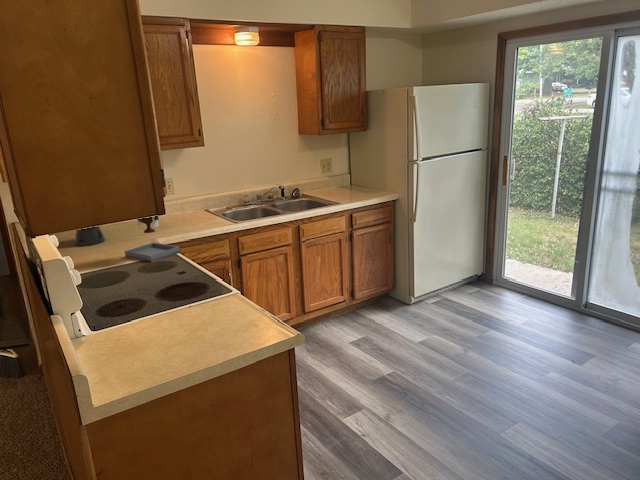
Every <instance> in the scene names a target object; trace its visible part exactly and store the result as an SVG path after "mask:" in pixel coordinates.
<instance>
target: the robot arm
mask: <svg viewBox="0 0 640 480" xmlns="http://www.w3.org/2000/svg"><path fill="white" fill-rule="evenodd" d="M136 220H137V225H138V226H142V225H144V223H142V222H140V221H139V220H138V219H137V218H136ZM152 220H153V222H152V225H153V228H157V227H160V222H159V215H158V216H155V217H152ZM75 231H76V232H75V238H74V244H75V246H76V247H77V246H78V247H86V246H87V247H88V246H93V245H99V244H101V243H103V242H105V241H106V238H105V235H104V233H103V232H102V230H101V228H100V225H99V226H98V227H92V228H87V229H81V230H75Z"/></svg>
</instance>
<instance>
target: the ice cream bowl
mask: <svg viewBox="0 0 640 480" xmlns="http://www.w3.org/2000/svg"><path fill="white" fill-rule="evenodd" d="M138 220H139V221H140V222H142V223H144V224H145V225H146V229H145V230H143V233H144V234H151V233H155V232H156V230H155V228H152V227H151V224H153V220H152V217H149V218H142V219H138ZM138 220H137V221H138ZM144 224H143V225H144Z"/></svg>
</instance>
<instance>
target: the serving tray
mask: <svg viewBox="0 0 640 480" xmlns="http://www.w3.org/2000/svg"><path fill="white" fill-rule="evenodd" d="M179 253H181V250H180V246H178V245H172V244H165V243H159V242H155V241H153V242H151V243H148V244H143V245H141V246H136V247H134V248H131V249H128V250H125V251H124V254H125V256H124V257H125V258H129V259H133V260H139V261H144V262H147V263H148V262H149V263H153V262H157V261H159V260H163V259H165V258H167V257H171V256H174V255H177V254H179Z"/></svg>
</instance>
